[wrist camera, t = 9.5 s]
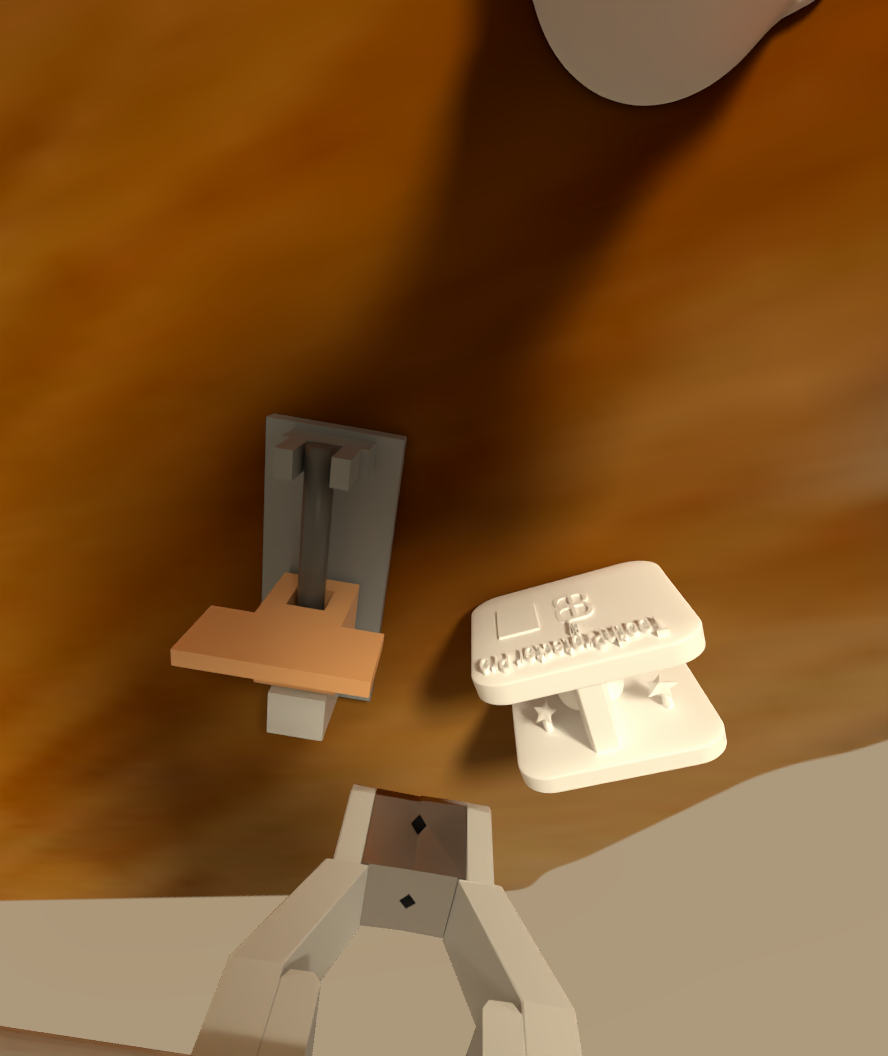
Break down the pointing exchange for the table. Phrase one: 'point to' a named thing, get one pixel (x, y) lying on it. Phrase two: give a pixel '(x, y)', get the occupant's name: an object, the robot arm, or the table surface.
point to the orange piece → (287, 642)
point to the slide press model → (327, 534)
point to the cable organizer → (597, 677)
